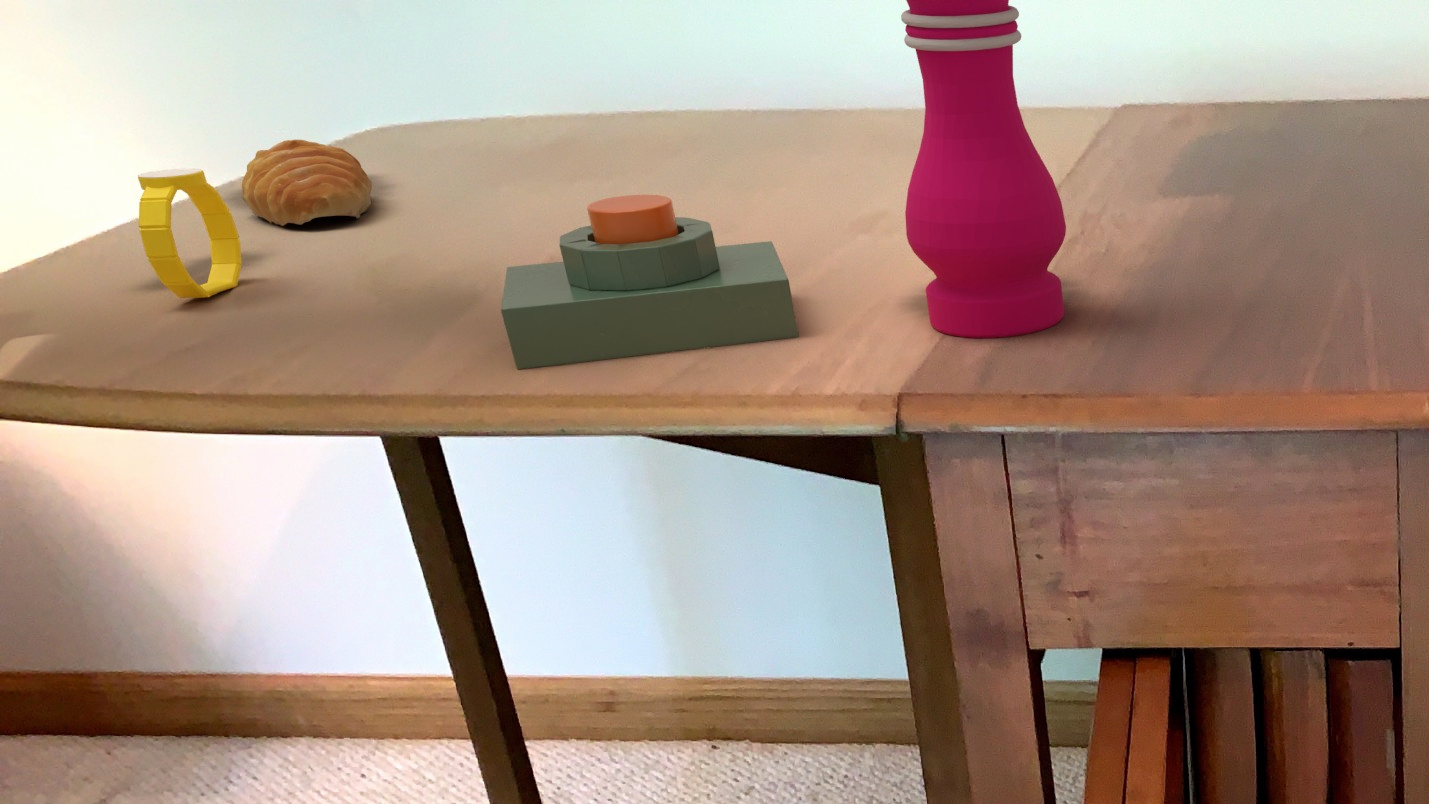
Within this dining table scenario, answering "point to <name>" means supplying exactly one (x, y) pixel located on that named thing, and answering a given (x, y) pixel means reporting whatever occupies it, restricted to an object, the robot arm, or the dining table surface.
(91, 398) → the dining table surface
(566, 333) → the control box
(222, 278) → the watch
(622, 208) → the button
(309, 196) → the pastry
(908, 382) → the dining table surface
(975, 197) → the pepper mill
